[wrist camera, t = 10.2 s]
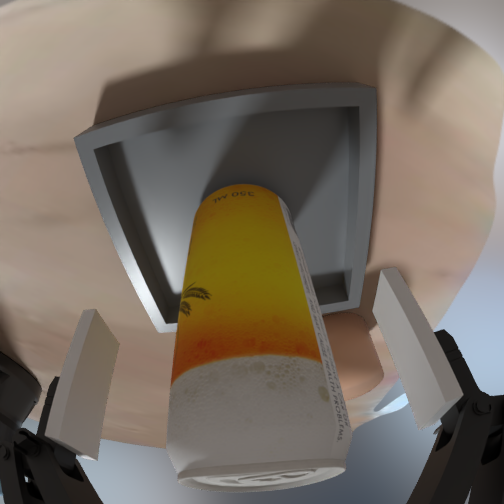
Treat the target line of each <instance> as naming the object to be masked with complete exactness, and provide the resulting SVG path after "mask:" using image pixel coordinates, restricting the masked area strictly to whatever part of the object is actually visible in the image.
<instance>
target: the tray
mask: <svg viewBox="0 0 504 504" xmlns="http://www.w3.org/2000/svg"><path fill="white" fill-rule="evenodd" d="M376 139H377V96H376V88H374V87H371V86H368V85H364V84H361V83H351V82H346V83H310V84H293V85H281V86H270V87H261V88H253V89H245V90H238V91H231V92H225V93H219V94H213V95H207V96H202V97H197V98H192V99H187V100H183V101H178V102H174V103H169V104H165V105H161V106H157V107H153V108H149V109H146V110H142V111H138V112H135V113H131V114H128V115H124V116H121V117H118V118H115V119H112V120H108V121H105V122H102V123H99V124H96V125H94V126H92V127H90V128H88V129H87V130H85V131H84V132H82V133H80V134H79V135H77V136H76V137H74V141H75V144H76V147H77V150H78V153H79V156H80V159H81V162H82V165H83V168H84V171H85V174H86V177H87V179H88V182H89V185H90V187H91V190H92V193H93V195H94V198H95V201H96V203H97V206H98V208H99V211H100V213H101V216H102V218H103V220H104V223H105V225H106V228H107V230H108V232H109V235H110V237H111V239H112V241H113V244H114V246H115V248H116V250H117V252H118V255H119V257H120V259H121V261H122V263H123V265H124V267H125V269H126V272H127V274H128V276H129V278H130V280H131V282H132V284H133V286H134V288H135V290H136V292H137V294H138V296H139V298H140V299H141V301H142V303H143V305H144V307H145V309H146V311H147V313H148V315H149V316H150V318H151V320H152V322H153V324H154V325H155V327H156V329H157V331H158V333H162V332H176V331H177V324H178V316H179V309H180V302H181V295H182V288H183V281H184V275H185V268H186V262H187V256H188V250H189V244H190V238H191V232H192V227H193V221H194V217H195V214H196V211H197V209H198V208H199V206H200V205H201V203H202V202H203V201H204V200H205V199H206V198H207V197H208V196H209V195H211V194H212V193H214V192H215V191H217V190H219V189H221V188H224V187H227V186H230V185H236V184H252V185H257V186H261V187H264V188H266V189H268V190H270V191H272V192H274V193H275V194H276V195H278V196H279V197H280V198H281V199H282V200H283V201H284V203H285V204H286V206H287V207H288V209H289V211H290V214H291V217H292V220H293V223H294V226H295V229H296V232H297V235H298V238H299V242H300V245H301V248H302V251H303V254H304V257H305V261H306V264H307V267H308V270H309V274H310V277H311V280H312V284H313V287H314V290H315V294H316V297H317V300H318V304H319V307H320V311H321V314H324V313H330V312H336V311H342V310H347V309H353V308H358V307H359V306H360V300H361V294H362V288H363V282H364V276H365V269H366V262H367V255H368V247H369V239H370V230H371V220H372V210H373V198H374V184H375V167H376Z"/></svg>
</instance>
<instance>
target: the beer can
mask: <svg viewBox="0 0 504 504" xmlns="http://www.w3.org/2000/svg"><path fill="white" fill-rule="evenodd" d="M351 439H352V430H351V426H350V422H349V418H348V413H347V409H346V405H345V401H344V397H343V393H342V389H341V385H340V381H339V377H338V373H337V369H336V365H335V361H334V358H333V354H332V350H331V347H330V343H329V339H328V336H327V332H326V328H325V325H324V321H323V318H322V314H321V311H320V307H319V304H318V300H317V297H316V294H315V290H314V287H313V284H312V280H311V277H310V274H309V270H308V267H307V264H306V261H305V257H304V254H303V251H302V248H301V245H300V242H299V238H298V235H297V232H296V229H295V226H294V223H293V220H292V217H291V214H290V211H289V209H288V207H287V206H286V204H285V203H284V201H283V200H282V199H281V198H280V197H279V196H278V195H276V194H275V193H274V192H272V191H270V190H268V189H266V188H264V187H261V186H257V185H252V184H236V185H230V186H227V187H224V188H221V189H219V190H217V191H215V192H214V193H212V194H211V195H209V196H208V197H207V198H206V199H205V200H204V201H203V202H202V203H201V205H200V206H199V208H198V209H197V211H196V214H195V217H194V221H193V227H192V232H191V238H190V244H189V250H188V256H187V262H186V268H185V275H184V281H183V288H182V295H181V302H180V309H179V316H178V324H177V332H176V340H175V349H174V358H173V367H172V377H171V388H170V399H169V411H168V425H167V441H166V450H167V452H168V455H169V457H170V459H171V461H172V463H173V465H174V467H175V470H176V472H177V473H178V482H179V483H180V484H182V485H184V486H187V487H191V488H195V489H201V490H209V491H221V492H256V491H269V490H278V489H286V488H292V487H298V486H303V485H308V484H312V483H316V482H320V481H323V480H326V479H329V478H332V477H334V476H337V475H339V474H341V473H343V472H344V471H345V470H346V464H345V460H346V457H347V453H348V450H349V446H350V443H351Z"/></svg>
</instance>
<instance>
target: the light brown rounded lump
mask: <svg viewBox="0 0 504 504" xmlns="http://www.w3.org/2000/svg"><path fill="white" fill-rule="evenodd" d="M322 318H323V321H324V325H325V328H326V332H327V336H328V339H329V343H330V347H331V350H332V354H333V358H334V361H335V365H336V369H337V373H338V377H339V381H340V385H341V389H342V393H343V397H344V401H347V400H351V399H354V398H356V397H359V396H361V395H363V394H365V393H367V392H369V391H370V390H372V389H373V388H375V387H376V386H377V385H378V384H379V383H380V382H381V381H382V379H383V377H384V372H383V369H382V366H381V363H380V360H379V357H378V355H377V352H376V349H375V346H374V344H373V341H372V338H371V335H370V333H369V330H368V327H367V325H366V322H365V320H364V319H363V318H362V317H361V316H359V315H357V314H354V313H335V314H331V315H327V316H325V317H322Z"/></svg>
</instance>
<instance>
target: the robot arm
mask: <svg viewBox="0 0 504 504" xmlns="http://www.w3.org/2000/svg"><path fill="white" fill-rule="evenodd" d="M372 312H373V314H374V316H375V318H376V321H377V323H378V325H379V328H380V330H381V332H382V335H383V337H384V339H385V342H386V344H387V347H388V349H389V351H390V354H391V356H392V359H393V361H394V364H395V366H396V369H397V371H398V374H399V377H400V379H401V382H402V384H403V387H404V390H405V393H406V395H407V398H408V401H409V404H410V407H411V409H412V412H413V415H414V418H415V421H416V424H417V427H418V430H421V429H424V428H426V427H429V426H431V425H433V424H435V423H436V422H437V421H438V420H439V419H440V420H441V423H442V425H440V426H439V427H438V428H437V429H436V430H435V432H434V434H437V433H438V435H437V438H436V440H435V443H434V446H433V448H432V451H431V453H430V455H429V458H428V460H427V462H426V465H425V467H424V469H423V472H422V474H421V476H420V478H419V480H418V482H417V484H416V486H415V488H414V490H413V492H412V494H411V496H410V498H409V500H408V502H407V503H406V504H464V503H465V501H466V499H467V496H468V494H469V491H470V489H471V493H470V498H469V502H468V504H504V395H498V396H489V395H488V394H486V393H485V392H482V391H480V389H479V388H478V386H477V384H476V382H475V380H474V378H473V376H472V374H471V372H470V370H469V367H468V366H467V364H466V361H465V359H464V358H463V357H462V354H461V352H460V350H459V349H458V346H457V344H456V342H455V340H454V338H453V337H452V336H451V335H450V334H449V333H448V332H446V331H445V330H444V329H443V330H440V331H437V332H433V330H432V328H431V327H430V325H429V323H428V321H427V319H426V317H425V315H424V314H423V312H422V310H421V308H420V307H419V305H418V303H417V301H416V300H415V298H414V296H413V294H412V293H411V291H410V289H409V288H408V286H407V284H406V283H405V281H404V279H403V278H402V276H401V274H400V273H399V271H398V270H397V268H396V267H393V268H387V269H382V270H381V272H380V277H379V282H378V287H377V292H376V297H375V301H374V306H373V310H372ZM119 345H120V344H119V342H118V341H117V340H116V338H115V337H114V335H113V334H112V332H111V331H110V330H109V328H108V327H107V325H106V324H105V322H104V321H103V319H102V318H101V316H100V315H99V313H98V312H97V310H96V309H90V310H83V313H82V315H81V318H80V320H79V323H78V326H77V328H76V331H75V334H74V336H73V339H72V342H71V345H70V348H69V351H68V353H67V356H66V359H65V363H64V366H63V369H62V372H61V375H60V377H56V376H55V378H54V379H53V381H52V382H51V384H50V386H49V389H48V392H47V397H46V399H45V405H44V407H43V410H42V414H41V418H40V422H39V426H38V431H37V434H36V435H35V434H33V433H32V432H30V431H29V430H27V429H26V428H21V426H22V423H23V422H24V421H25V419H26V418H27V417H28V415H29V414H30V412H31V411H32V409H33V408H34V406H35V405H36V404H37V403H38V401H39V398H40V395H41V392H42V390H41V387H40V385H39V384H38V382H37V381H36V380H35V379H34V378H33V377H32V376H31V375H30V374H29V373H28V372H27V371H25V370H24V369H23V368H22V367H20V366H19V365H18V364H16V363H15V362H14V361H12V360H11V359H9V358H8V357H6V356H5V355H3V354H2V353H0V496H2V495H3V498H4V503H5V504H103V502H102V501H101V499H100V498H99V496H98V494H97V493H96V491H95V489H94V488H93V486H92V484H91V483H90V481H89V479H88V477H87V476H86V474H85V472H84V470H83V468H82V467H81V465H80V463H79V462H78V460H77V459H76V454H77V455H78V456H80V457H82V458H85V459H90V460H95V461H97V460H98V452H99V445H100V439H101V432H102V426H103V420H104V415H105V409H106V404H107V399H108V393H109V389H110V384H111V379H112V374H113V370H114V366H115V361H116V357H117V353H118V349H119ZM25 476H26V477H28V482H26V481H25ZM471 486H472V487H471Z"/></svg>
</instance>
